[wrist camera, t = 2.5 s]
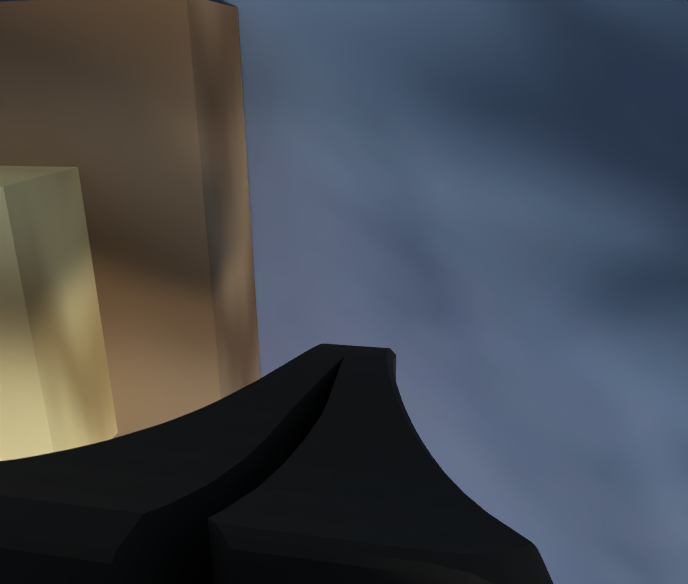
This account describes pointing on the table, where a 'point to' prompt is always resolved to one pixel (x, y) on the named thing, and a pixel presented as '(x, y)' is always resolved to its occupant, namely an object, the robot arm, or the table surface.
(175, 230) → the walnut deck
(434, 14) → the table surface
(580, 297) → the table surface
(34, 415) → the ochre tile
